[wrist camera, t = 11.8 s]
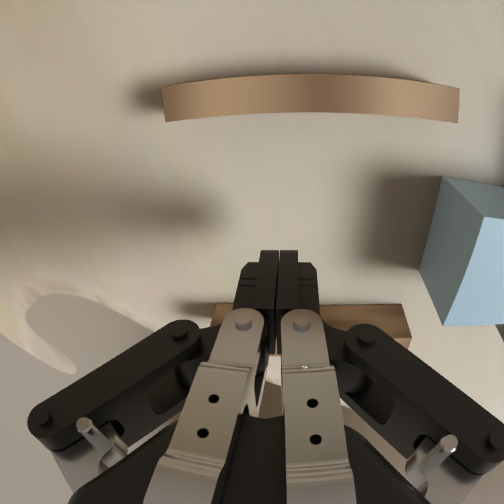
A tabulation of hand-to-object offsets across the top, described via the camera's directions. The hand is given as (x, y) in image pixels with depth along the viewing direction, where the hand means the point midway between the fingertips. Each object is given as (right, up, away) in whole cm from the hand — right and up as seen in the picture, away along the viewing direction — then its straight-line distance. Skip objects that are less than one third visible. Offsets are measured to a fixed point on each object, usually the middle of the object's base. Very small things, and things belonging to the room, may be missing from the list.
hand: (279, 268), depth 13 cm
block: (+12, +2, +2) cm, 13 cm away
